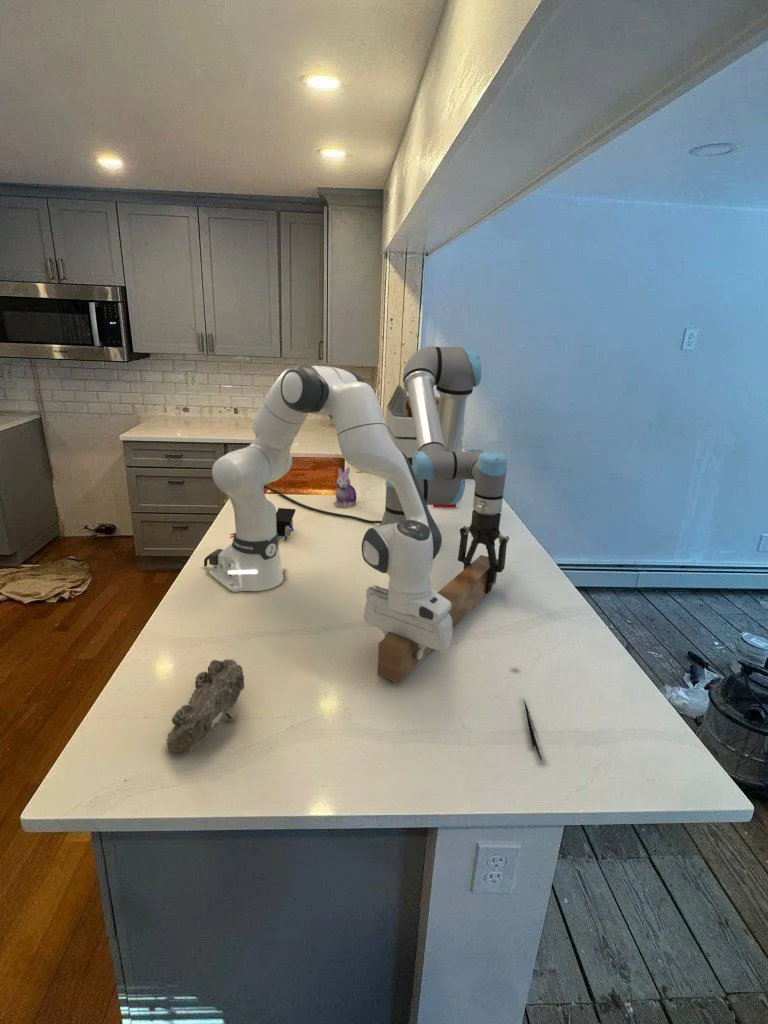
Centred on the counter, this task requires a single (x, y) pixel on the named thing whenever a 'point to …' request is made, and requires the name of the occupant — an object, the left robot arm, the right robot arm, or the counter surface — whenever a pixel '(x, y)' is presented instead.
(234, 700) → the fossil
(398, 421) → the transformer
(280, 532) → the figurine character
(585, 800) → the counter surface
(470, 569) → the bar
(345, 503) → the figurine
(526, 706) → the feather
